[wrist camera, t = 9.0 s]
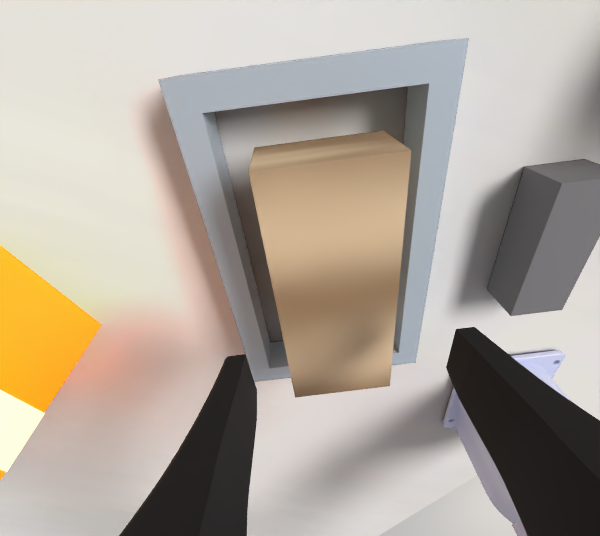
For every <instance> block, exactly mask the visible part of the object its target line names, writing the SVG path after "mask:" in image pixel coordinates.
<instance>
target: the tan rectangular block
mask: <svg viewBox="0 0 600 536" xmlns="http://www.w3.org/2000/svg"><path fill="white" fill-rule="evenodd" d="M411 151H412V150H410V149H409V148H407V147H406V146H405V145H403V144H402V143H400V142H399V141H398V140H396V139H395V138H393V137H392V136H391V135H389V134H388V133H386V132H385V131H376V132H369V133H361V134H354V135H346V136H338V137H331V138H323V139H316V140H308V141H301V142H293V143H285V144H278V145H270V146H263V147H255V148H254V151H253V155H252V159H251V163H250V167H249V171H248V172H249V177H250V182H251V187H252V192H253V196H254V201H255V206H256V211H257V216H258V220H259V225H260V230H261V235H262V240H263V244H264V249H265V254H266V259H267V264H268V268H269V273H270V278H271V283H272V288H273V292H274V297H275V302H276V307H277V312H278V316H279V321H280V326H281V331H282V336H283V341H284V345H285V350H286V355H287V360H288V365H289V369H290V374H291V379H292V384H293V389H294V393H295V397H302V396H310V395H319V394H327V393H335V392H343V391H352V390H360V389H368V388H377V387H385V386H390V377H391V366H392V355H393V345H394V334H395V323H396V312H397V301H398V291H399V280H400V269H401V258H402V248H403V237H404V226H405V215H406V204H407V194H408V183H409V172H410V161H411Z"/></svg>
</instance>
